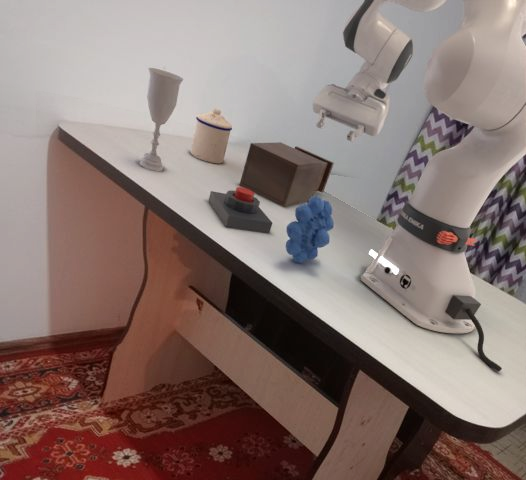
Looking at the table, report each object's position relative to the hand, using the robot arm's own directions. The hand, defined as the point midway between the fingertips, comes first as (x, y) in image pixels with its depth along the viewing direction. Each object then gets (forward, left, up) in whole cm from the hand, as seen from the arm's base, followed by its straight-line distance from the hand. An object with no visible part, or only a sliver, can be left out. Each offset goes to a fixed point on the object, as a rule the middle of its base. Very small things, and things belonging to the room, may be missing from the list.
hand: (333, 132), depth 123 cm
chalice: (-12, +49, -14) cm, 52 cm away
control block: (-34, +36, -14) cm, 52 cm away
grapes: (-52, +30, -14) cm, 62 cm away
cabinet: (-14, +19, -14) cm, 28 cm away
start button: (-34, +36, -11) cm, 51 cm away
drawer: (-7, +9, -13) cm, 18 cm away
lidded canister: (+6, +32, -14) cm, 35 cm away
